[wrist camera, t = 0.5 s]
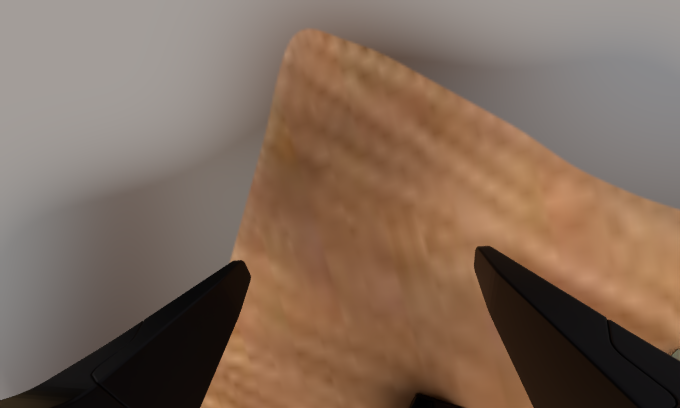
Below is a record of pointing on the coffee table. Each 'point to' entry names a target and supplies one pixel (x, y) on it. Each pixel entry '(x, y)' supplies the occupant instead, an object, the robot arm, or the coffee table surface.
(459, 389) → the coffee table surface
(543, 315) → the robot arm
